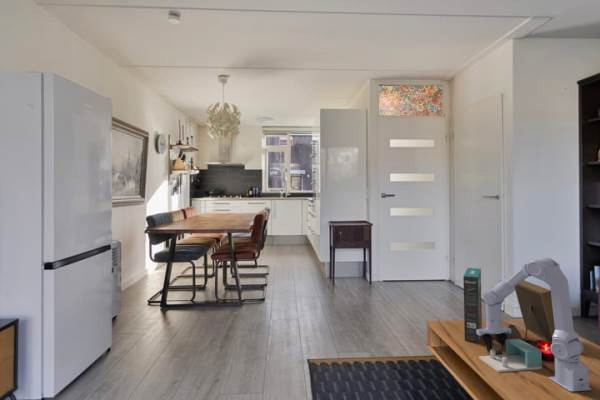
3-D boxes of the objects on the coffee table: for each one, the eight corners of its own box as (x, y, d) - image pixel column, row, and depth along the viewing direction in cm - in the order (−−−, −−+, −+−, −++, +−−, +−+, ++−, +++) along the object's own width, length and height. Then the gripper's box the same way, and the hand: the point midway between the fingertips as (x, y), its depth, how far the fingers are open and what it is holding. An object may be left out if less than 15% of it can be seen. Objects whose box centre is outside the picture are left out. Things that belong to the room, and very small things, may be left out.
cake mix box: (479, 343, 163) (477, 277, 163) (464, 340, 166) (463, 276, 166) (481, 327, 182) (480, 268, 182) (468, 325, 185) (467, 267, 185)
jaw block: (501, 356, 149) (501, 344, 149) (492, 356, 149) (492, 344, 149) (495, 352, 153) (495, 340, 153) (486, 352, 153) (486, 341, 153)
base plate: (541, 368, 138) (541, 358, 138) (498, 372, 136) (498, 361, 136) (519, 355, 150) (519, 345, 150) (479, 358, 148) (478, 348, 148)
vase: (524, 348, 156) (523, 328, 156) (506, 347, 157) (506, 327, 157) (517, 342, 163) (517, 323, 163) (501, 341, 164) (500, 322, 164)
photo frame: (534, 328, 178) (532, 278, 178) (565, 347, 157) (564, 290, 157) (504, 329, 179) (502, 279, 179) (531, 347, 157) (529, 291, 157)
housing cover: (541, 366, 138) (541, 350, 138) (527, 367, 137) (527, 351, 137) (519, 352, 150) (518, 338, 150) (505, 353, 149) (505, 339, 149)
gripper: (503, 314, 156) (503, 345, 156) (471, 316, 154) (472, 348, 154) (514, 320, 149) (515, 352, 149) (482, 322, 147) (482, 355, 147)
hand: (494, 350), depth 151 cm, fingers closed on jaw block, 4 cm apart
